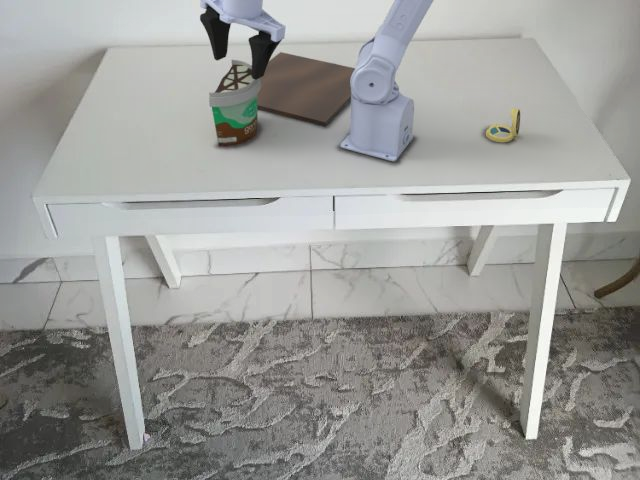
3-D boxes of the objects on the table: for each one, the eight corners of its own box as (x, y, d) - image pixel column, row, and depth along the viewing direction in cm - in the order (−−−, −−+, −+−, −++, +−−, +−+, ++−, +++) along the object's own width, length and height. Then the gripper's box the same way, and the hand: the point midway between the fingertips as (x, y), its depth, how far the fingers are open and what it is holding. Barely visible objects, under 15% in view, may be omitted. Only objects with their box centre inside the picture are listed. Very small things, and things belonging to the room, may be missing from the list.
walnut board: (373, 76, 123) (373, 72, 122) (325, 126, 109) (325, 122, 109) (280, 55, 130) (280, 51, 129) (224, 100, 116) (224, 96, 116)
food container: (253, 154, 103) (247, 97, 97) (215, 151, 104) (207, 94, 98) (272, 115, 112) (269, 60, 106) (238, 112, 113) (232, 58, 107)
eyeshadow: (488, 125, 109) (493, 99, 106) (519, 131, 107) (525, 104, 104) (483, 139, 106) (488, 112, 103) (514, 145, 104) (520, 118, 101)
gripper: (186, -31, 92) (185, 57, 101) (266, 5, 87) (258, 94, 96) (219, -42, 97) (216, 44, 106) (298, -8, 92) (287, 78, 101)
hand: (238, 67), depth 101 cm, fingers open, 7 cm apart
